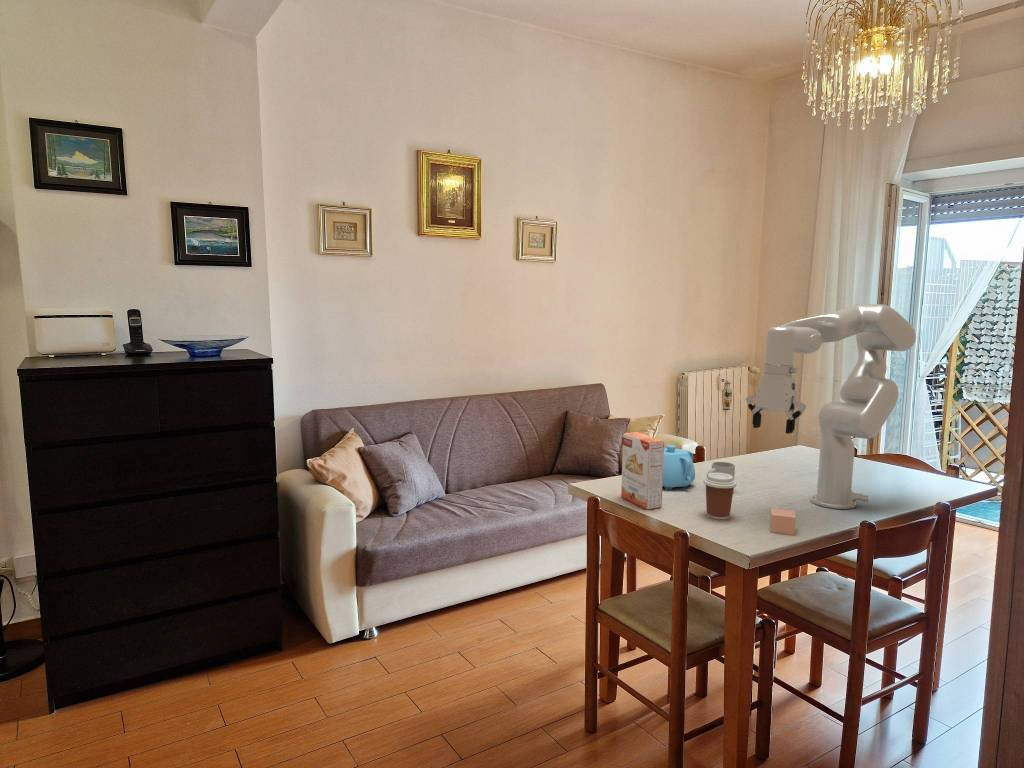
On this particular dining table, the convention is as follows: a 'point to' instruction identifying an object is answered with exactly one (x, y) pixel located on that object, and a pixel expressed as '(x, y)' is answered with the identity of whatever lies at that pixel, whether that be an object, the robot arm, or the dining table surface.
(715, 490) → the coffee cup
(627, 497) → the cracker box
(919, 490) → the dining table surface
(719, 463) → the cup
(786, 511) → the stacking block
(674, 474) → the decorative pot
